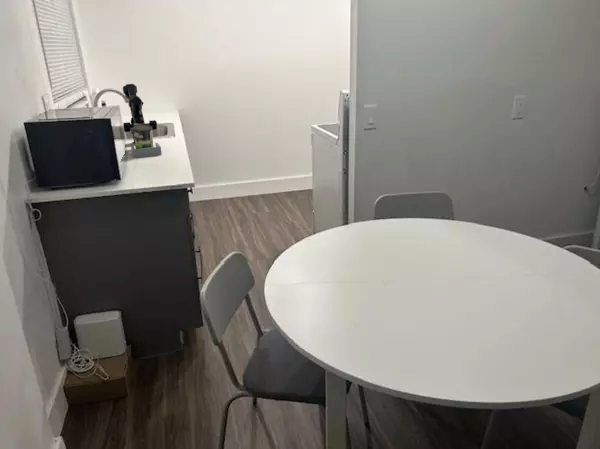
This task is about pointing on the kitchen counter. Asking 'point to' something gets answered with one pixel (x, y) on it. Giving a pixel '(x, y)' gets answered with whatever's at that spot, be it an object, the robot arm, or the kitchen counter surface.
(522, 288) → the kitchen counter surface
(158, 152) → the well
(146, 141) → the coffee can
